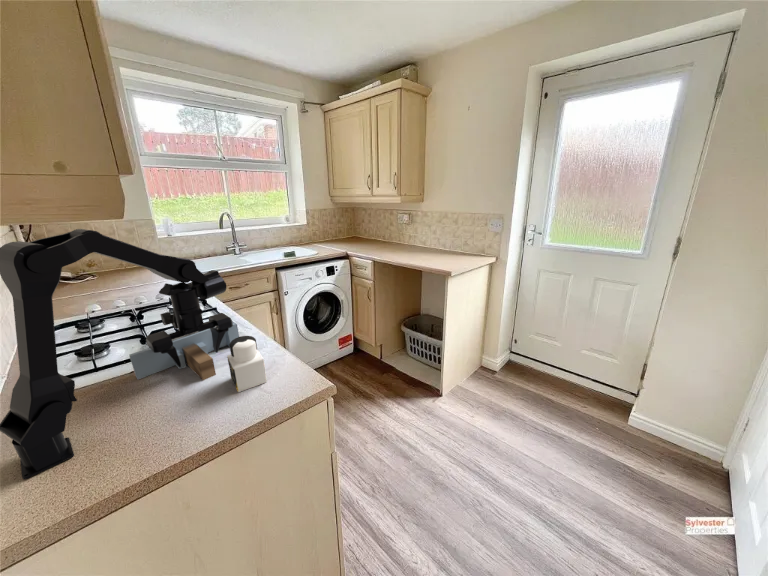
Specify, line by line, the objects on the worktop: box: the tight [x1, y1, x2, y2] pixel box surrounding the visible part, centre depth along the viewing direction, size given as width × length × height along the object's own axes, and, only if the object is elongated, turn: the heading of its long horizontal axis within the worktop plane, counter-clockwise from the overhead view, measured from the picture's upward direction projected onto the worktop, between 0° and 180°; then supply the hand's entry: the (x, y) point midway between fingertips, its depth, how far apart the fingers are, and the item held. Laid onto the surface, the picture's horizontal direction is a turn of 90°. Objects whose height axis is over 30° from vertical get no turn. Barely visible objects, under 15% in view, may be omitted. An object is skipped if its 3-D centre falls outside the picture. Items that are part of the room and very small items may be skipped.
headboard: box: [129, 320, 240, 380], centre depth 88 cm, size 4×26×7 cm, turn 140°
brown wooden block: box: [182, 343, 217, 381], centre depth 84 cm, size 12×3×5 cm, turn 50°
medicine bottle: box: [227, 335, 268, 393], centre depth 78 cm, size 7×7×12 cm
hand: (198, 359), depth 84 cm, fingers open, 9 cm apart
